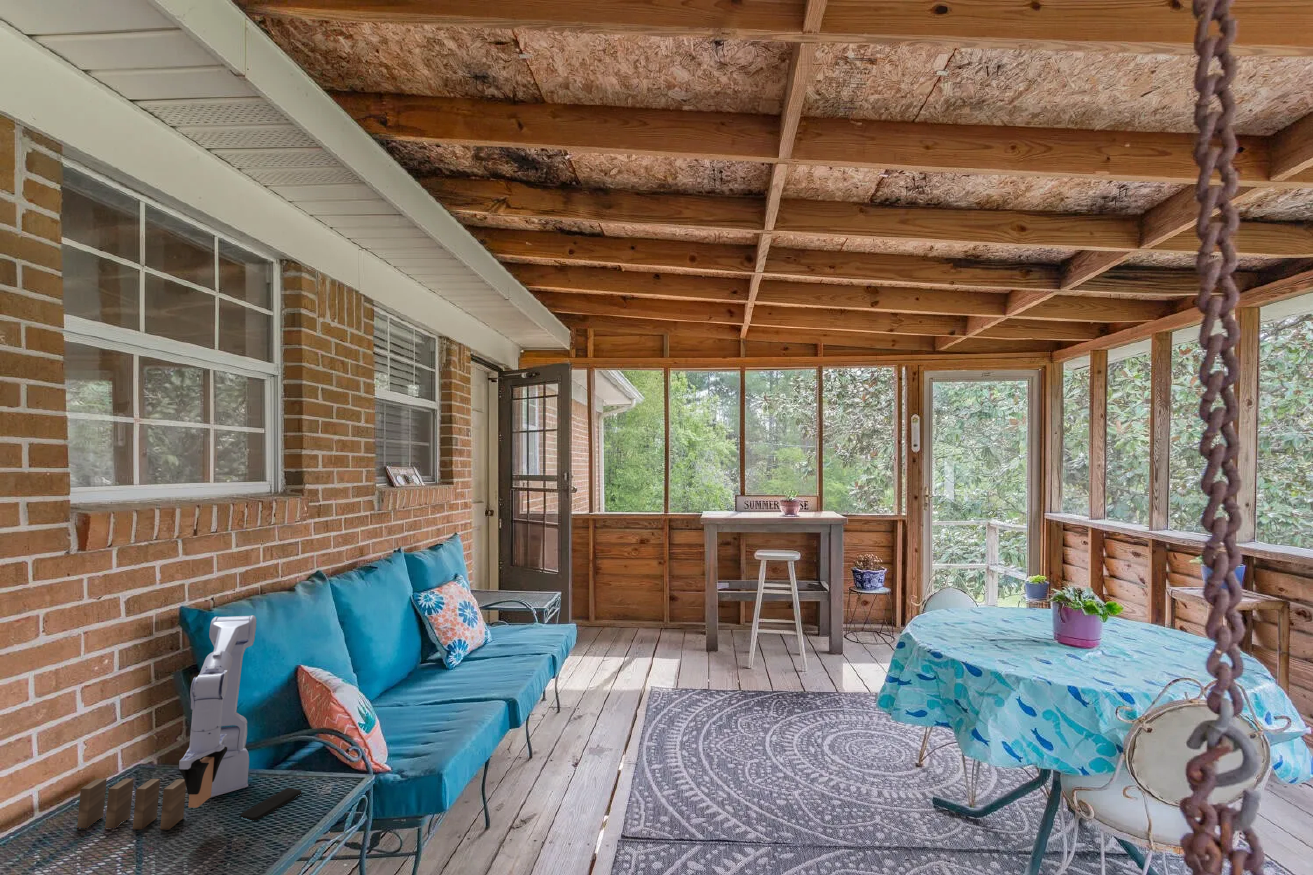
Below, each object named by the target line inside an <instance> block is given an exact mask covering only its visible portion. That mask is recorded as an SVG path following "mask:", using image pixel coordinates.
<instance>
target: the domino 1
mask: <svg viewBox="0 0 1313 875" xmlns="http://www.w3.org/2000/svg"><path fill="white" fill-rule="evenodd" d="M107 781H108V780H107V778H96V779H95V780H93V781H91V782H90V783H88V784H86V785H85V786H83V787H81V788H80V792H79V794H80V795H79V801H78V802H79V804H78V806H79V807H78V812H77V813H78V815H77V823H76V824H77V826H76V829H77V828H78V827H81V828H87V827H88V826H90V825H91V824H93V823H94V822H96V821H97V820H99V819H100V818H101V817H103V818H104V813H105V812H104V810H105V800H106V790H107V789H106V788H107ZM99 821H100V820H99ZM96 823H97V822H96ZM93 825H94V824H93ZM90 827H91V826H90ZM87 829H88V828H87Z"/></svg>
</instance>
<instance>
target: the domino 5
mask: <svg viewBox="0 0 1313 875" xmlns="http://www.w3.org/2000/svg"><path fill="white" fill-rule="evenodd" d="M200 761H201V763H209V764H208V766H207V768H206V770H205V772H204V775H203V779H202V784H201V789H200V792H199V793H198V794H197V795H196V794H188V806H187V808H195V809H197V808H199V807H200V806H202V804H204V803H205V802H206V801H207V800H209V799H210V797H211V791H212V778H213V766H214V757H204V758H203V759H200ZM211 798H212V797H211Z"/></svg>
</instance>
